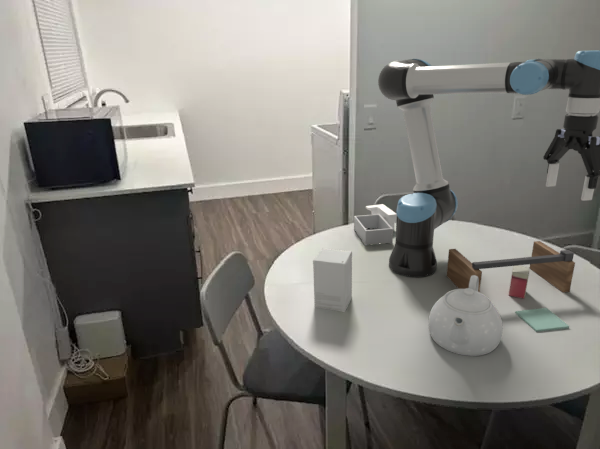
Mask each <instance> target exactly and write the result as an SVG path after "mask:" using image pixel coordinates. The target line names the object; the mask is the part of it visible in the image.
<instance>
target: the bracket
mask: <svg viewBox="0 0 600 449" xmlns="http://www.w3.org/2000/svg"><path fill="white" fill-rule="evenodd" d="M365 209H366V210H367V211H370V212H371V214H370V215H374V214H380V215H381V216H382V217H383V218H384V220H385V221H386V222H387V223H388V224H389V225H390V226H391V227H392V228H393V230H394V231H395V224H396V219H397V214H396V212H395V211H393V209H391V208H390V207H388V206H386V205H385V204H383V203H381V204H380V203H379V204H373V205H366V206H365Z"/></svg>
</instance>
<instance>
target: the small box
mask: <svg viewBox="0 0 600 449" xmlns="http://www.w3.org/2000/svg"><path fill="white" fill-rule="evenodd" d="M529 276H530V266H525V265H517V266H512V271H511V277H510V283H509V289H508V290H509V291H508V296H509V297H514V298H519V299H525V298H526V293H527V287H528V282H529Z"/></svg>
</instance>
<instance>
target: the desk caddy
mask: <svg viewBox="0 0 600 449" xmlns="http://www.w3.org/2000/svg"><path fill="white" fill-rule="evenodd" d="M365 228H374V229H365ZM378 228H379V229H378ZM353 230H354V232H355V231H356V232H357V233H356V232H355V233H356V235H357V236H358V235H359V236H360V237H359V236H358V237H359V239H360V238H361V239H362V240H361V239H360V240H361V241H362V243H363V242H364V243H363V244H364V246H369V245H368V244H377V245H380V244H379V243H390V244H393V240H394V238H393V237H394V231H393V228H392V227H391V226H390V225H389V224H388V223H387V222H386V221H385V220H384V218H383V217H382V216H381V215H380V214H374V215H371V214H366V215H365V214H364V215H363V214H362V215H354V216H353Z"/></svg>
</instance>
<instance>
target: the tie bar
mask: <svg viewBox="0 0 600 449" xmlns="http://www.w3.org/2000/svg"><path fill="white" fill-rule="evenodd" d="M559 253H560V254H556V255H546V256H535V257H531V256H527V257H526V256H525V257H516V258H515V257H514V258H506V259H494V260H486V261H485V260H484V261H474V262H473V261H472V262H471V263H472V268H473V269H474V270H476V269H479V270H484V269H485V270H486V269H495V268H504V267H505V268H507V267H513V266H517V265H518V266H525V265H530V264H538V263H548V262H559V261H564V262H567V261H573V262H574V255H575V253H574V252H573V251H571V250H570V249H564V250H563V249H562V250H560V251H559Z"/></svg>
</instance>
